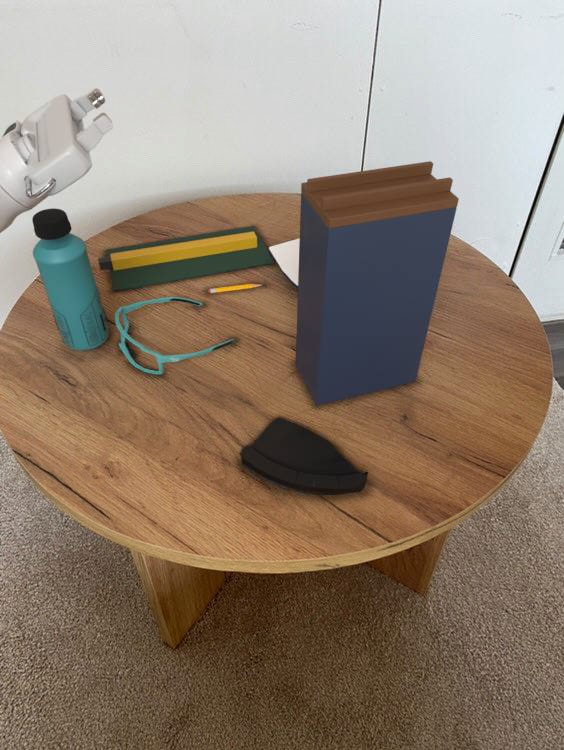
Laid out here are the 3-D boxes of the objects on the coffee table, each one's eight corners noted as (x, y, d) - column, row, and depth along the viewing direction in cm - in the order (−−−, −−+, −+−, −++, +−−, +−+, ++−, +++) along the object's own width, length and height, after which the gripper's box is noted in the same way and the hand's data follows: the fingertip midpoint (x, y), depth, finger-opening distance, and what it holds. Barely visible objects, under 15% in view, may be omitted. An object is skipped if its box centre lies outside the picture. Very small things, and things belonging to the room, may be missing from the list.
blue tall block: (316, 406, 73) (330, 208, 54) (295, 364, 79) (301, 171, 60) (415, 381, 76) (461, 187, 57) (389, 343, 82) (423, 154, 63)
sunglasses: (102, 331, 83) (98, 302, 80) (196, 305, 90) (196, 278, 87) (142, 390, 75) (139, 360, 71) (242, 357, 82) (244, 328, 78)
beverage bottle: (116, 353, 80) (82, 222, 66) (66, 365, 78) (21, 233, 64) (108, 324, 84) (75, 196, 70) (61, 335, 83) (17, 206, 69)
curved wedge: (338, 524, 61) (339, 515, 60) (236, 464, 67) (236, 455, 65) (376, 471, 66) (378, 462, 65) (278, 419, 72) (278, 410, 70)
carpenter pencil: (101, 272, 93) (98, 262, 92) (100, 266, 94) (97, 255, 93) (257, 247, 99) (257, 237, 97) (254, 241, 100) (253, 231, 99)
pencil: (208, 292, 91) (207, 288, 90) (261, 285, 92) (261, 281, 92) (208, 294, 90) (208, 291, 90) (262, 288, 92) (262, 284, 91)
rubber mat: (114, 291, 90) (114, 289, 90) (106, 251, 98) (105, 249, 98) (274, 263, 96) (274, 261, 96) (253, 227, 104) (253, 225, 104)
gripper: (6, 184, 70) (96, 113, 68) (8, 121, 84) (82, 61, 82) (46, 221, 74) (131, 156, 72) (41, 156, 88) (112, 100, 86)
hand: (105, 105), depth 77 cm, fingers open, 8 cm apart
